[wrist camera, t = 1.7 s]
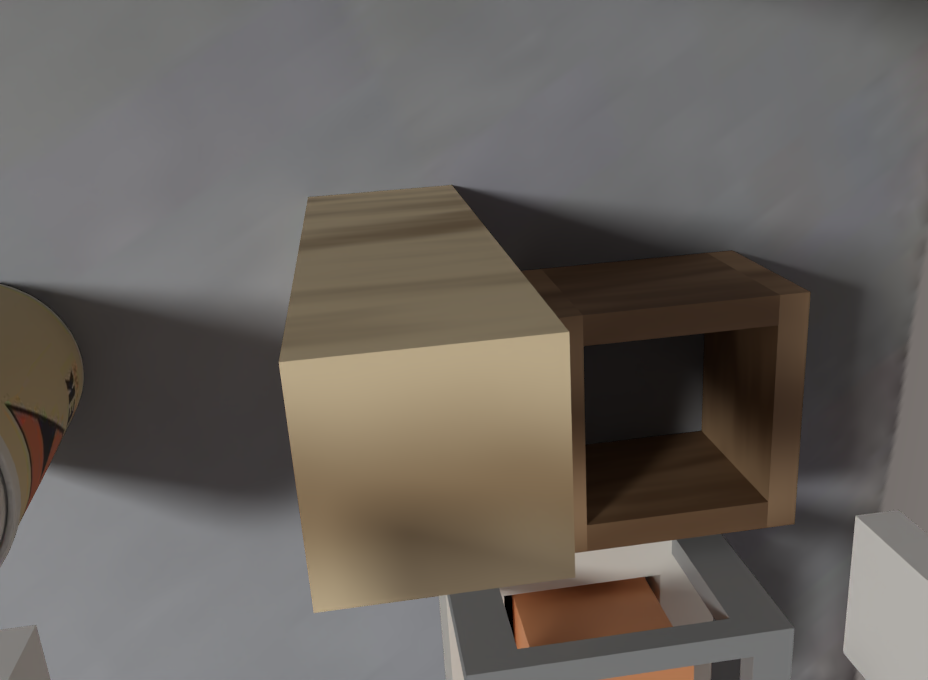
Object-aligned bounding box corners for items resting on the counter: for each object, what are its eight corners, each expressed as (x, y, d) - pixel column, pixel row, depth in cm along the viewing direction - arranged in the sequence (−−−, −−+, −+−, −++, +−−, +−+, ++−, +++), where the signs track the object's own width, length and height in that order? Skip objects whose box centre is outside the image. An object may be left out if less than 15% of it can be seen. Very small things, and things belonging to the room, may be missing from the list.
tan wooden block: (308, 197, 37) (278, 362, 18) (451, 184, 37) (569, 331, 18) (324, 334, 39) (313, 612, 20) (460, 320, 39) (575, 577, 20)
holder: (514, 271, 39) (550, 318, 32) (732, 250, 40) (810, 291, 33) (523, 474, 42) (558, 555, 36) (724, 450, 43) (794, 523, 37)
